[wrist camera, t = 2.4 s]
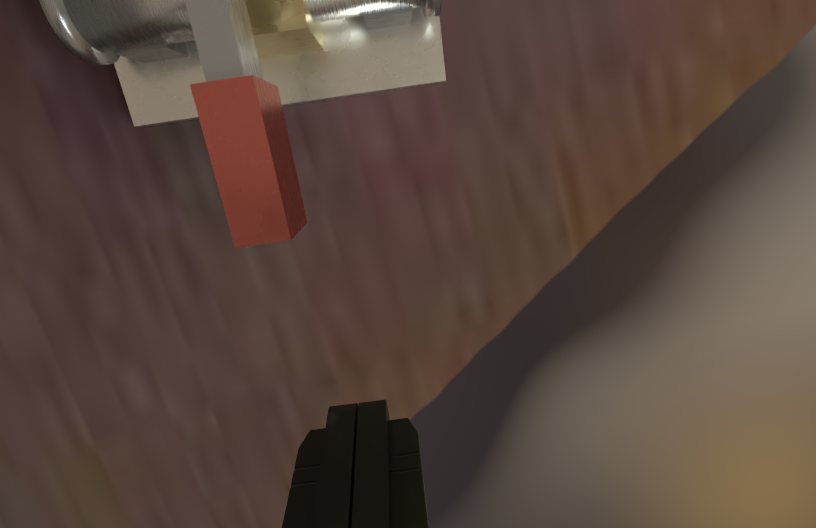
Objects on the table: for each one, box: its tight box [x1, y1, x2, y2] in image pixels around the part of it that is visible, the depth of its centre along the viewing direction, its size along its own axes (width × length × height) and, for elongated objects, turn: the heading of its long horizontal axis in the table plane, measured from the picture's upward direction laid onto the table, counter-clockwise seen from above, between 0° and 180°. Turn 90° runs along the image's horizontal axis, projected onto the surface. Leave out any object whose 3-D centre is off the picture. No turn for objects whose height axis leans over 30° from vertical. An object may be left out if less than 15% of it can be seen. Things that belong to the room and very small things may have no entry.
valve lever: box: [185, 0, 307, 248], centre depth 19 cm, size 15×4×4 cm, turn 8°
